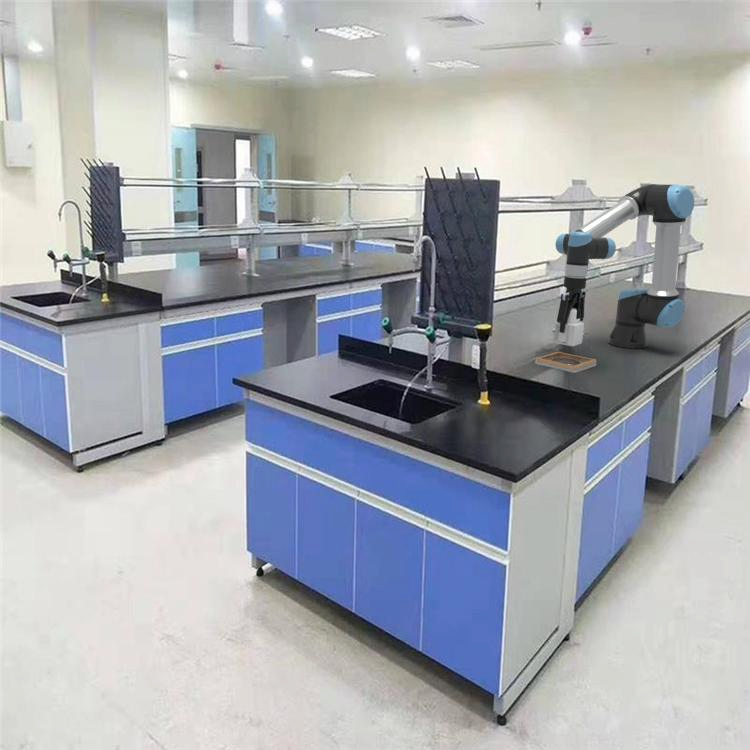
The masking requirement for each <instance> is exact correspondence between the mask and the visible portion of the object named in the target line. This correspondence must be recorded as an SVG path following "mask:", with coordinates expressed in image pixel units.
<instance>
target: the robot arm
mask: <svg viewBox="0 0 750 750" xmlns="http://www.w3.org/2000/svg"><path fill="white" fill-rule="evenodd" d="M692 191H693V190H692ZM692 191H691V189H690V188H689V187H688V186H686V185H681V184H680V185H679V184H656V183H655V184H654V183H651V184H646V185H642V186H640V187H638V188H635V189H633V190H631V191H629V192H627V193H626V194H625V195H623V196H622V197H620V198H619V200H618V201H617V203H616V204H614V205H612V206H611V207H610V208H608V209H606V210H605V211H603V212H602V213H601V214H599V215H597V216H596V217H594V218H593V219H591V220H590V221H589V222H588V221H587V223H585V224H584V225H582V226H581V227H579V228H578V229H576V230H575V231H571V233H561V234H559V236H558V237H556V240H555V249H556V251H557V253H559V254H562V255H566V263H565V266H564V267H565V270H564V271H565V272H564V274H565V277H564V279H563V287H564V288H566V290H565V293H561V294H560V301H559V302H560V303H559V308H558V313H557V318H556V322H558V323H560V329H559V338H558V341H561V342H566V338H567V329H568V324H567V321H568V318H569V315H570V311H571V309H572V307H576V308H579V309H580V310H581V316H580V321H579V322H583V321H584V318H585V304H586V303H585V301H586V300H585V298H586V294H587V293H586V291H582V290H584V289H585V288H586V287H587V286H586V285H587V277H588V269H589V262H590V261H589V260H603V261H604V260H608V259H610V258H612V257H613V256H614V255H615V253H616V247H617V245H616V242H615V241H614V240H613V238H610V237H605V236H606V235H608V234H609V233H610V232H612V231H613V230H615V229H617V228H618V227H619V226H621V225H622V224H624V223H625V222H627V221H628V220H635V219H636V218H638V217H641V216H652V221H651V222H652V223H653V224H654V225H655V228H656V229H655V239H654V252H653V264H652V265H653V266H652V275H651V277H652V278H651V288H650V289H648V288H647V289H646V288H645V289H644V288H643V289H640V288H637V289H636V288H635V289H622V290H621V291H620V292H619V295H618V299H617V307H616V313H615V315H616V317H615V324H614V326H613V329H612V330H611V333H610V335H609V337H608V342H609V343H610V344H609V343H608V344H609V345H611V344H612V346H614V345H615V347H618V346H619V348H623V347H625V349H636V348H637V349H645V348H647V346H648V337H647V333H646V324H647V325H651V326H656V327H658V328H667V329H668V328H669V329H671V328H673V327H675V326H676V325H678V324H679V322H680V321H681V320H682V318H683V316H684V313H685V308H686V307H685V304H684V302H683V300H682V299H680V298H679V297H680V292H679V291H678V290H677V288H676V285H677V284H676V283H677V272H678V263H679V261H678V260H679V249H680V239H681V227H682V226H683V225H684V224H685V223H686V221H687V220H686V219H687V218H688V217H690V216H691V215H692V213H693V211H694V207H695V196H694V193H693V192H692Z"/></svg>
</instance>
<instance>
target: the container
mask: <svg viewBox="0 0 750 750" xmlns="http://www.w3.org/2000/svg"><path fill="white" fill-rule="evenodd" d="M580 316H581V310H580V309H579V308H576V307H572V309H571V311H570V315H569V318H568V321H567V324H568V329H567V338H566V342H561V341H558V338H559V329H560V323H558V322H557V321H556V322H555V325H554V326H555V327H554V334H553V335H554V336H553V343H554V344H558V345H564V346H569V347H575V346H578V345H580V344H581V345H582V343H583V337H584V330H585V329H584V328H585V322H583V321H580ZM579 321H580V322H579Z"/></svg>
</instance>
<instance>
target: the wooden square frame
mask: <svg viewBox="0 0 750 750" xmlns="http://www.w3.org/2000/svg"><path fill="white" fill-rule="evenodd" d="M534 364H535V365H538V366H542V367H546V368H547V367H548V368H551V369H556V370H559V371H560V370H561V371H564V372H568V373H573V374H576V373H579V372H582V371H585V370H587V369H588V370H589V369H591V368H593V367H596V366H597V359H595V358H589V357H585V356H580V355H577V354H576V355H575V354H572V353H566V352H562V351H555V352H552V353H549V354H545V355H543V356H539V357H536V358H535V361H534Z"/></svg>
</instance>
